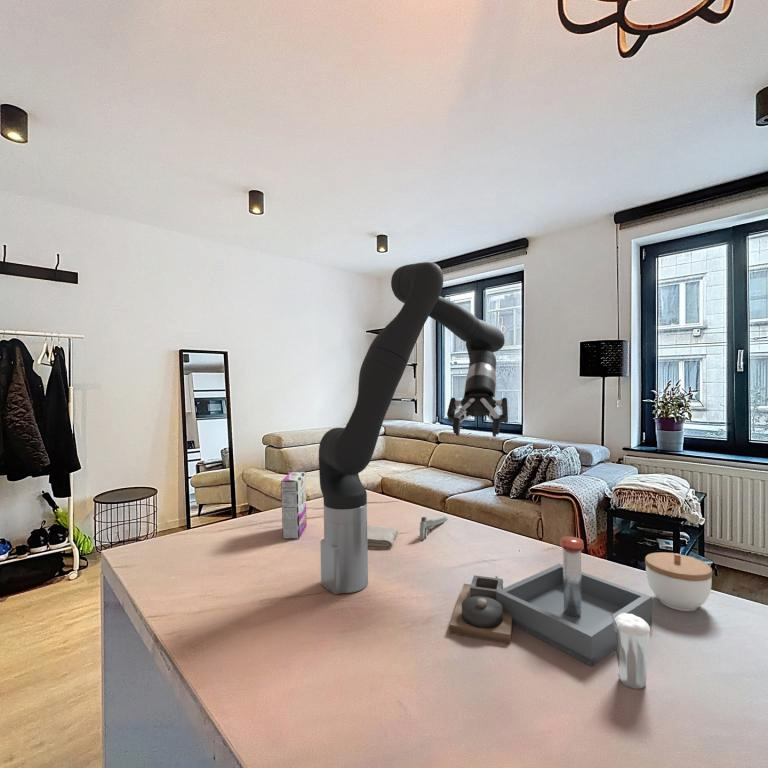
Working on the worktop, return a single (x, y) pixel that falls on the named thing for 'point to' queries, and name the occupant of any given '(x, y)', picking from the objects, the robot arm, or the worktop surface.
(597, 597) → the tray
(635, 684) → the milkshake
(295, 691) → the worktop surface
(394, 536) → the washcloth
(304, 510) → the candy bar box
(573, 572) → the pin
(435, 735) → the worktop surface
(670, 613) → the worktop surface
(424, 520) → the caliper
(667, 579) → the lidded jar
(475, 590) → the wooden stand
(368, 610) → the worktop surface
